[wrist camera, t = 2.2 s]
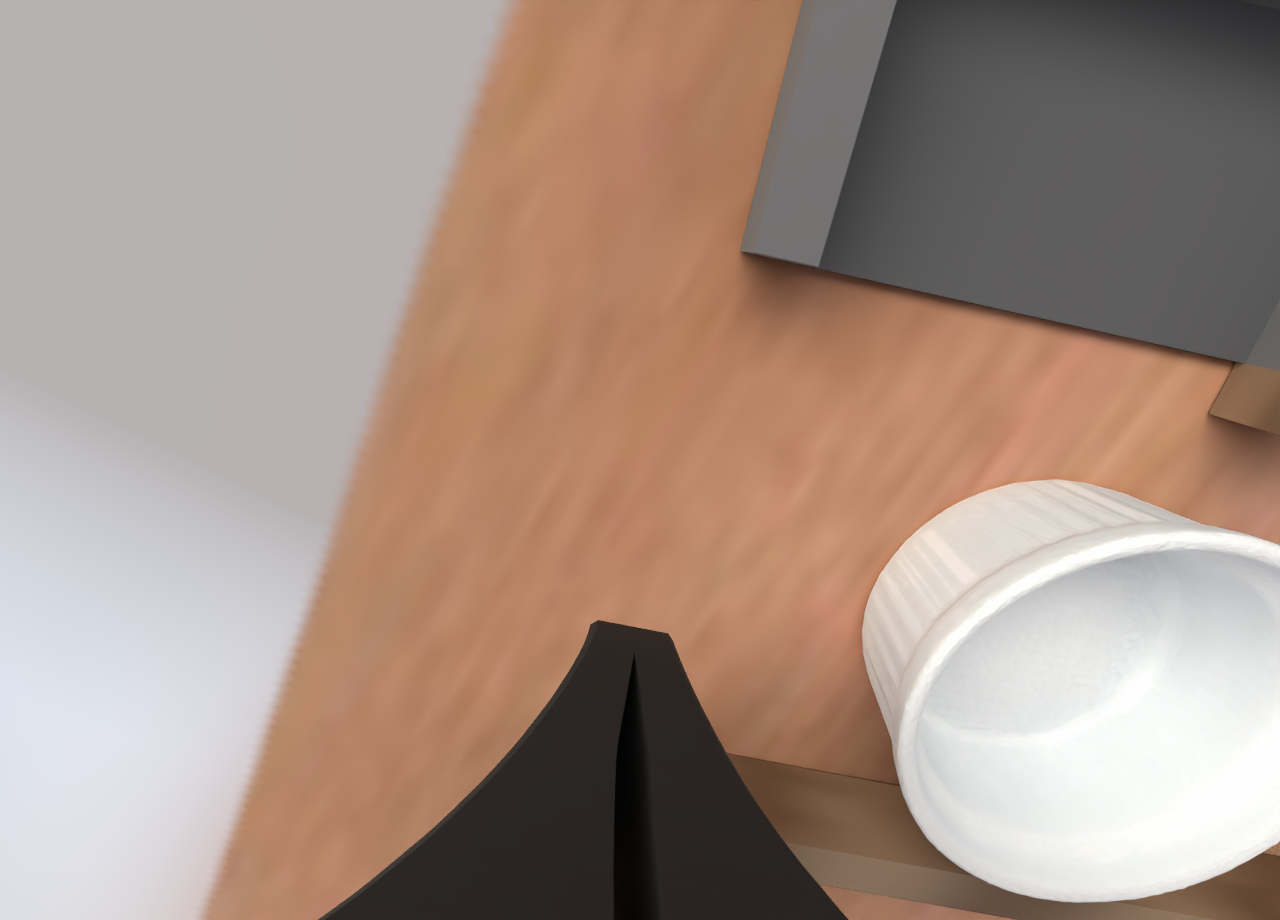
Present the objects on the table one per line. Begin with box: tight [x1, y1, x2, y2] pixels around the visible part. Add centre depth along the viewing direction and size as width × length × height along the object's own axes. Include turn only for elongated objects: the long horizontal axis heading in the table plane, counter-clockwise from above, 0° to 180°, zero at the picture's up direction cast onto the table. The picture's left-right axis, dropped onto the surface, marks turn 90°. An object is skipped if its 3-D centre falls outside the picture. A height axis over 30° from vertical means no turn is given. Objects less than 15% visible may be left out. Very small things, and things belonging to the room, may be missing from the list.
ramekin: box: [862, 479, 1280, 903], centre depth 14 cm, size 9×9×4 cm
